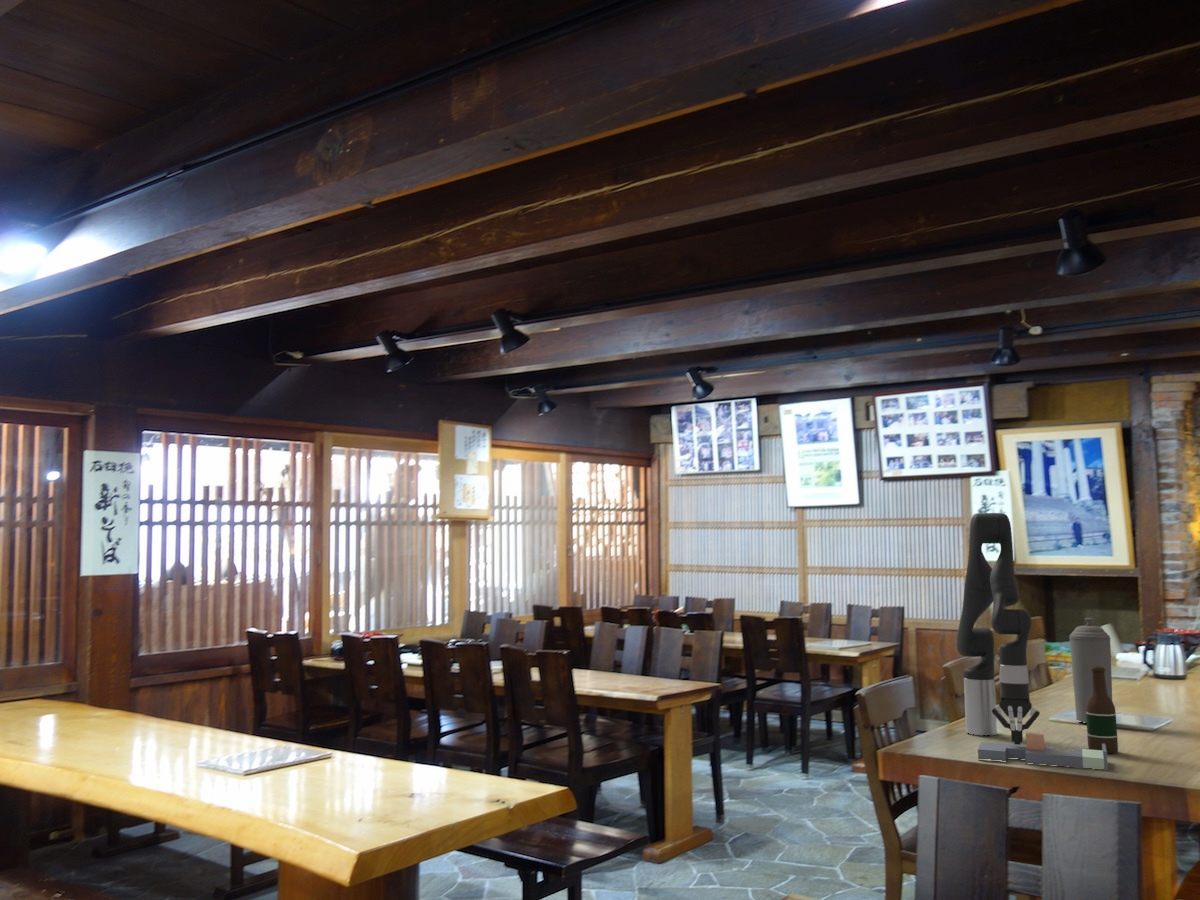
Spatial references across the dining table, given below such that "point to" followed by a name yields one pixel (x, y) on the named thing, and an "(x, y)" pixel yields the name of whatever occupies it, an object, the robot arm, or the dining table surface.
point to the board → (1045, 755)
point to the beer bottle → (1101, 715)
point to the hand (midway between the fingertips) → (1017, 744)
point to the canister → (1088, 663)
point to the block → (1035, 740)
